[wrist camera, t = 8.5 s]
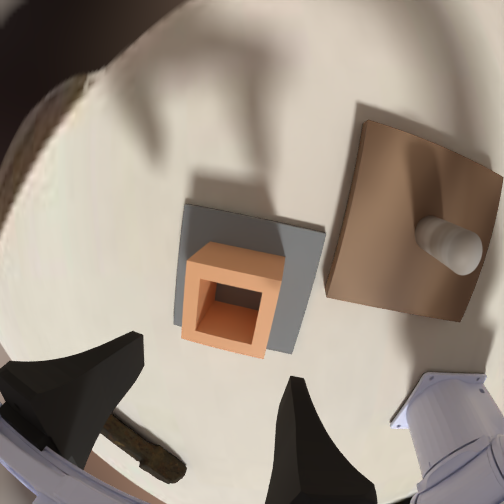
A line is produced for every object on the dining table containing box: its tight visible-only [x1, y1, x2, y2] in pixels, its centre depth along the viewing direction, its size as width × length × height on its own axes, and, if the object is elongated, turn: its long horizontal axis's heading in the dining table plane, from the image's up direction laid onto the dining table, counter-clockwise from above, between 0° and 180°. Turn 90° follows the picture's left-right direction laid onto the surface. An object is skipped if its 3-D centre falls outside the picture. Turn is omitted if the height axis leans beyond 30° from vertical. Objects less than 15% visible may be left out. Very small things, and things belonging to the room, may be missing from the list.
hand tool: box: [100, 414, 187, 484], centre depth 28 cm, size 19×4×5 cm, turn 46°
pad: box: [174, 204, 326, 354], centre depth 21 cm, size 10×10×1 cm
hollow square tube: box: [181, 241, 285, 359], centre depth 18 cm, size 5×5×4 cm
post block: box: [325, 120, 503, 322], centre depth 15 cm, size 12×12×6 cm
